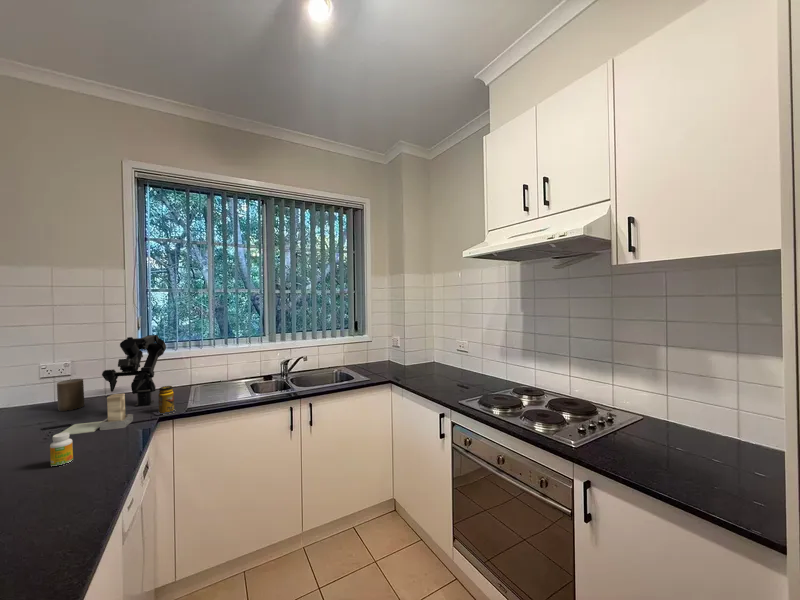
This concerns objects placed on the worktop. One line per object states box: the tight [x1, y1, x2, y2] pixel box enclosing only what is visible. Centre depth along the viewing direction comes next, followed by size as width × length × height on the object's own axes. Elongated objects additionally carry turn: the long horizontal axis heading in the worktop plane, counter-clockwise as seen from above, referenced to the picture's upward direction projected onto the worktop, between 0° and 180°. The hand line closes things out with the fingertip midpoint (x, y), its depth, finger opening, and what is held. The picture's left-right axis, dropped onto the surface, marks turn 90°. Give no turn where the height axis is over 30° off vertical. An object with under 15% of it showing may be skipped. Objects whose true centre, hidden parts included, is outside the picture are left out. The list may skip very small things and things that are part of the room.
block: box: [106, 393, 126, 422], centre depth 148 cm, size 4×4×13 cm
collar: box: [99, 413, 134, 431], centre depth 148 cm, size 8×8×3 cm
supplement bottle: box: [49, 432, 74, 467], centre depth 115 cm, size 5×5×10 cm
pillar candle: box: [56, 378, 85, 412], centre depth 172 cm, size 10×10×15 cm
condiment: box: [158, 385, 175, 413], centre depth 164 cm, size 7×8×12 cm
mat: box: [60, 420, 103, 435], centre depth 145 cm, size 12×12×1 cm
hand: (123, 390), depth 155 cm, fingers open, 9 cm apart
